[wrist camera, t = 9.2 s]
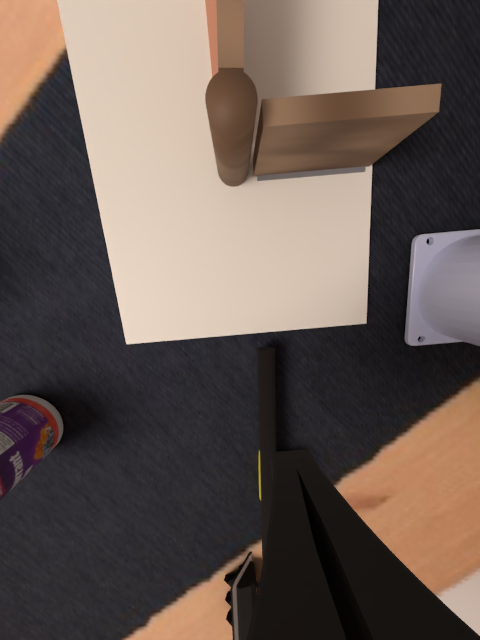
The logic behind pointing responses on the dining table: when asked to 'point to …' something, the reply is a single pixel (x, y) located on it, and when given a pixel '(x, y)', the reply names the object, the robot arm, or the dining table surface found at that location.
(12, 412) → the pill bottle
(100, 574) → the dining table surface
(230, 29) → the gate panel
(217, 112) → the frame
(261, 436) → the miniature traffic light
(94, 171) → the card
